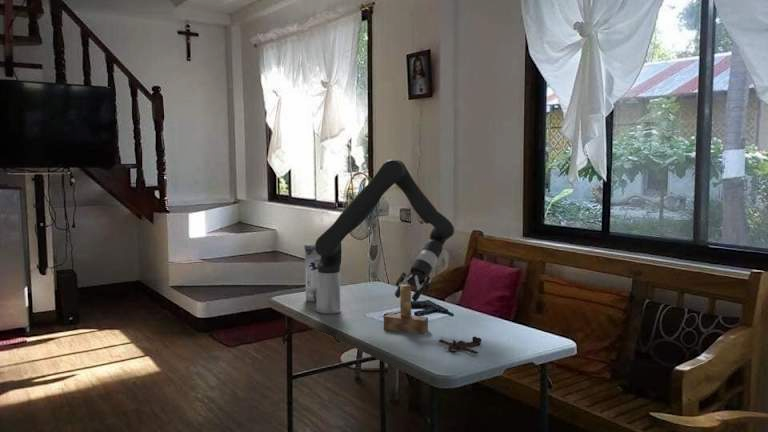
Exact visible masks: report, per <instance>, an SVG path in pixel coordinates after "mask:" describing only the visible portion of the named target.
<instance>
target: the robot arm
mask: <svg viewBox="0 0 768 432" xmlns="http://www.w3.org/2000/svg"><path fill="white" fill-rule="evenodd" d="M394 184H395V185H396V186H397V187H398V188H399V189H400V190H401V191H402V192H403V193H404V195H405V196H406V198H407V200H408V202H409V203H410V205H411V207H412V208H413V210H414V211H415V213H416V215H418V216H419V218H420V219H421V220H422V221H423V223H424V224H430V225H431V226H433V229H432V230H431V232H430V234H429V236H428V239H427V241H426V243H425V245H424V246H423V248H422V250H420V251H421V252H420V253H418V255H417V257H416V259H415V261H414V263H412V265H411V267H410V272H409V273H405V272H404V271H403V272H402V273H401V275H400V276H399V277H398V279H397V281H396V282H395V286H397V288H396V290H395V292H394V296H395V297H396V298H397V299H399V298H400V285H411V287H415V288H416V289H417V290H415V291H414V293H413V295H412V296H411V300H412V301H419V299H420V296H421V295H422V294H423V293H424V294H426V293H428V292H429V289H430V287H431V285H432V283H433V279H432V278H431V277H430V275H431V273H432V272H433V269H434V267H435V266H436V263H437V261H438V259H439V257H440V255H442V252H443V248H444V247H443V246H444V245H445V243H446V241H447V240H448V239H450V238H452V237H453V235H454V234H455V227H454V225H453V224H452V222H451V221H450V219H448V218H447V217H446V216H445V215H443V214H442V213H440V212H439V211H438V210H437V208H436V207H435V206H434V205H433V204H432V202H431V200H429V199H428V197H427V196H426V195H425V194H424V192H423V191H422V190H421V189H420V187H419V186H418V185H417V183H416V182H415V180H414V179H413V177H412V175H411V174H410V172H409V170H408V169H407V167H406V164H405V163H404V162H403V161H401V160H399V159H388V160H386V161H384V163H383V164H382V165H381V166H380V168H379V170H378V171H377V172H376V173H375V175H374V177H373V178H372V179H371V180H370V181H369V183H367V184H366V186H365V187H363V188H362V190H361V191H360V192H358V194H356V196H355V197H354V198H353V199H352V200H351V201H350V203H348V205H346V207H345V208H344V210H343V211H342V212H341V213H340V215H339V216H338V217H337V218H336V220H335V221H334V222H333V224H332V225H331V226H330V227H329V228H327V230H325V231H324V233H322V234H321V235H320V236H319V237H318V238H317V239H316V240H315V243H314V244H315V250H316V252H317V253H318V254H319V255H320V256H321V259H320V263H319V265H318V289H317V290H316V301H317V302H316V313H321V314H325V315H327V314H328V315H332V314H338V313H340V312H341V264H342V242H343V240H344V239H345V238H346V237H347V236H348V235H349V234H350V233H351V232H353V231H354V230H355V229H357V228H358V227H359V226H360V225H361V224H362V223H363V222H364V221H366V219H367V218H368V217H369V216H370V215H371V214H372V213H373V211H375V209H376V207H377V206H378V204H379V202H380V200H381V199H382V196H384V194H385V193H386V192H387V191H388V190H389V189H390V188H391V187H392V186H393V185H394Z"/></svg>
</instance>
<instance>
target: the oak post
mask: <svg viewBox="0 0 768 432" xmlns="http://www.w3.org/2000/svg"><path fill="white" fill-rule="evenodd" d="M399 298H400V300H399V301H400V302H399V303H400V305H399V306H400V311H399V312H400V315H401V318H410V317H411V316H412V308H411V301H412V286H411V285H400V297H399Z"/></svg>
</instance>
